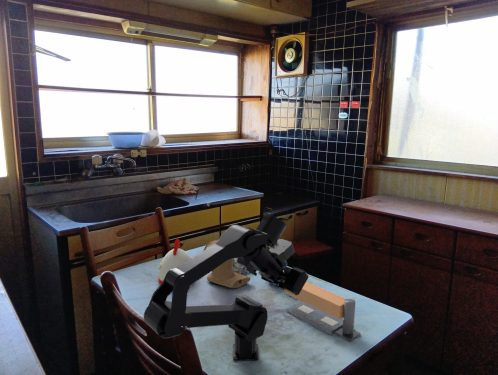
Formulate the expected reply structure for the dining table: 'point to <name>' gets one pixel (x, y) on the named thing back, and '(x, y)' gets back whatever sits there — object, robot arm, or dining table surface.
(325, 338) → the dining table surface
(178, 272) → the robot arm
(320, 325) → the label plate
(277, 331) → the dining table surface
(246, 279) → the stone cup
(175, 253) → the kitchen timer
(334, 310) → the orange wooden beam
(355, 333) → the grey flat block
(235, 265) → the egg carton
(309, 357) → the dining table surface
